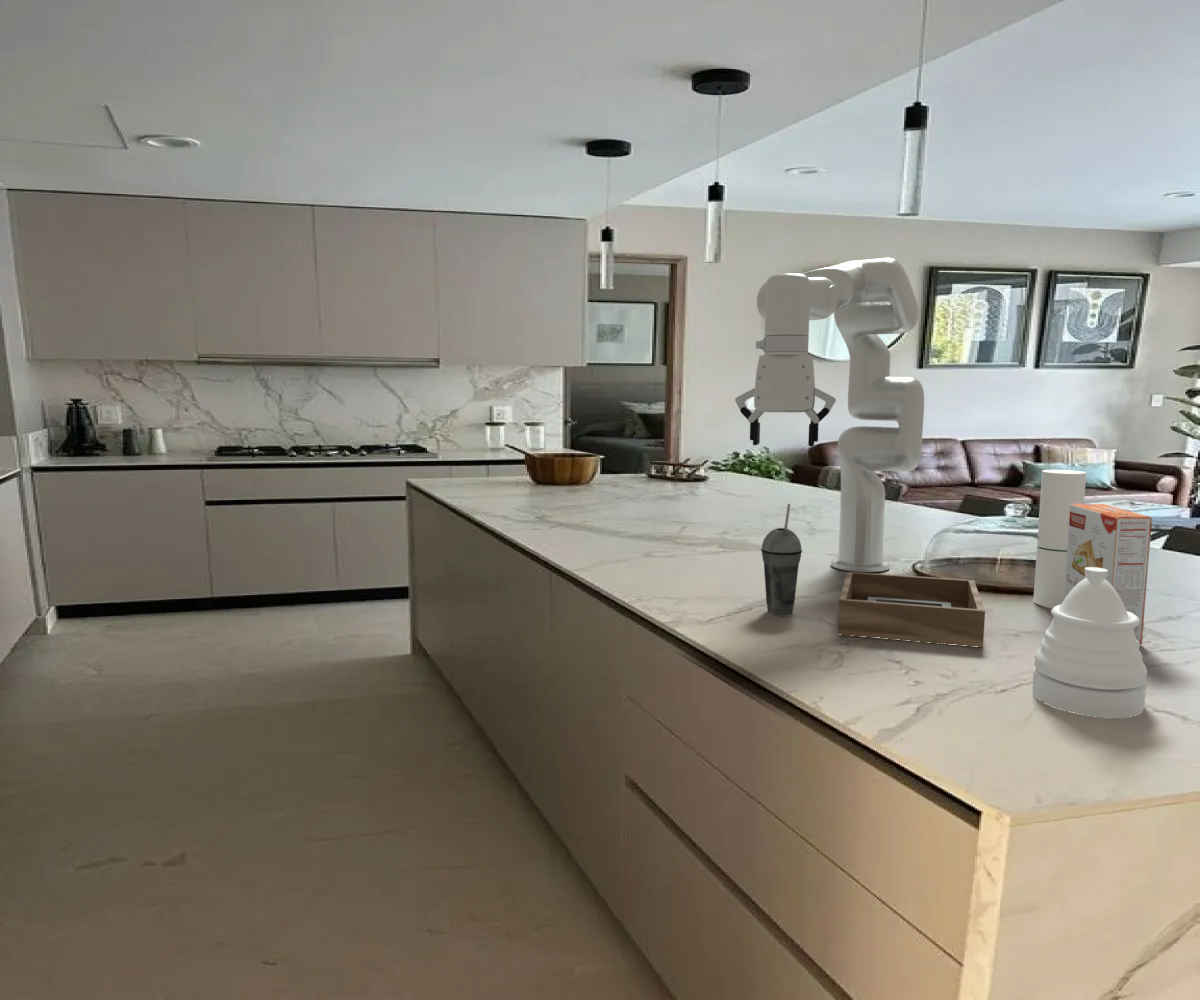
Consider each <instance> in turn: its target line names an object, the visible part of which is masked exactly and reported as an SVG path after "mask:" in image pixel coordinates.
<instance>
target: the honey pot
mask: <svg viewBox="0 0 1200 1000" xmlns="http://www.w3.org/2000/svg"><path fill="white" fill-rule="evenodd" d="M1107 573H1108V570H1107V569H1103V568H1097V567H1086V568H1085V576H1086V578H1085V579H1083V580H1082V581H1080V582H1079V583H1078V584H1077V585H1076V586H1075V587H1074V588H1073V589H1072V590H1071V591H1070V593H1069V594H1068V595H1067V597H1066V598H1065V599H1064V601H1063V602H1062V604H1061V605H1058V606H1055V607H1054V608H1051V610H1050V612H1051V616H1052V617H1053V619H1052V620H1051V623H1050V624H1049V626H1048V628H1047V629H1046V630H1045V631H1044V637H1043V639H1042V640H1041V641H1040V642H1041V643H1040V647H1039V648H1038V650H1036V652H1035V654H1034V662H1033V665H1034V667H1033V672H1032V673H1033V674H1032V675H1033V676H1032V688H1031V691H1032V690H1033V693H1032V695H1033V694H1034V695H1035V696H1036V697H1037V698H1038V699H1040V700H1041V701H1043V702H1045V703H1047V704H1049V705H1051V706H1054V707H1056V708H1060V709H1063V710H1066V711H1070V712H1075V713H1079V714H1084V715H1090V716H1096V717H1104V718H1103V719H1109V718H1120V719H1122V718H1121V717H1130V716H1135V715H1137V714H1139V713H1141V712H1142V711H1143V712H1144V710H1145V703H1146V690H1147V684H1146V682H1147V676H1148V670H1147V667H1146V665H1145V664H1144V661H1143V654H1142V653H1141V651H1140V647H1141V645H1140V644H1139V642H1138V640H1137V639H1136V637H1135V633H1134V630H1133V628H1135V627H1137V626H1138V625H1139V624H1140V620H1139V618H1138V616H1136V615H1134V614H1133V613H1131V612H1128V611H1126V609H1125V607H1124V605H1123V603H1122V601H1121V599H1120V597H1119V595H1118V594H1117V592H1116V590H1115V589H1114V588H1113V586H1112V585H1111V584H1110V583H1109V582H1108V581H1107V580H1105V578H1106V576H1107ZM1034 695H1033V696H1034ZM1041 701H1040V702H1041ZM1051 706H1050V707H1051ZM1143 709H1144V710H1143ZM1143 712H1142V713H1143ZM1096 717H1095V718H1096ZM1105 717H1106V718H1105ZM1107 717H1108V718H1107ZM1135 717H1136V716H1135ZM1130 718H1131V717H1130Z"/></svg>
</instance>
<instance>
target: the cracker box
mask: <svg viewBox="0 0 1200 1000" xmlns="http://www.w3.org/2000/svg"><path fill="white" fill-rule="evenodd" d="M1152 524H1153V518H1152V517H1151V516H1147V515H1144V514H1141V513H1137V512H1134V511H1129V510H1126V509H1123V508H1119V507H1116V506H1111V505H1109V504H1104V503H1085V502H1084V503H1081V504H1071V505H1070V518H1069V534H1068V550H1067V565H1066V581H1065V596H1064V599H1065V598H1066V597H1067V595H1068V594H1069V593H1070V591H1071V590H1072V589H1073V588H1074V587H1075V586H1076V585H1077V584H1078V583H1079V582H1080V581H1082V580H1083V579H1085V578H1086V576H1085V568H1086V567H1097V568H1103V569H1107V570H1108V573H1107V576H1106V578H1105V580H1107V581H1108V582H1109V583H1110V584H1111V585H1112V586H1113V588H1114V589H1115V590H1116V592H1117V594H1118V595H1119V597H1120V599H1121V601H1122V603H1123V605H1124V607H1125V609H1126V611H1128V612H1131V613H1133V614H1134V615H1136V616H1138V618H1139V620H1140V624H1139V625H1138V626H1137V627H1135V628H1133V630H1134V633H1135V637H1136V639H1137V640H1138V642H1139V644H1140V646H1141V645H1142V644H1143V634H1144V633H1143V632H1144V620H1145V612H1146V611H1145V610H1146V609H1145V608H1146V599H1147V597H1146V596H1147V585H1148V570H1149V563H1150V562H1149V560H1150V548H1151V535H1152Z"/></svg>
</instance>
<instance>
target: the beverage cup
mask: <svg viewBox="0 0 1200 1000" xmlns="http://www.w3.org/2000/svg"><path fill="white" fill-rule="evenodd" d="M790 510H791V504H790V503H787V507H786V513H785V521H784V528H783V527H782V528H781V527H779V528H775V529H773V530H771V531H769V532H768V533H767V534H766V535H765V537H764V539H763V542H762V545H761V549H760V551H761V556H762V561H763V569H764V586H765V587H764V588H765V600H766V608H767V611H766V612H767V613H768V614H769V615H771V614H772V615H771V616H775V615H777V616H776V617H788V616H787V615H789V616H791V614H792V613H793V610H794V606H795V599H796V591H797V582H798V576H799V575H798V573H799V567H800V566H799V565H800V562H801V558H802V553H803V550H802V544H801V541H800V538H799V537H798V535H797V534H796V533H795V532H794V531H792V530H790V529H789V528H788V526H789V518H790ZM793 614H794V613H793ZM793 614H792V615H793Z"/></svg>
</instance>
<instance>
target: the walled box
mask: <svg viewBox="0 0 1200 1000" xmlns="http://www.w3.org/2000/svg"><path fill="white" fill-rule="evenodd" d="M842 586H843V587H842V590H841V594H840V596H839V600H838V603H839V605H838V627H837V628H838V629H837V630H838V634H841V635H854V636H866V637H880V638H888V639H900V640H910V641H920V642H931V643H943V644H944V643H945V644H957V645H967V646H978V647H983V648H984V636H985V635H984V634H985V619H986V610H985V607H984V605H983V601H982V599H981V596H980V592H979V591H978V587H977V585H976V581H975V580H974V579H965V578H964V579H962V578H949V577H948V578H946V577H931V576H915V575H903V574H901V575H900V574H886V573H875V572H854V571H847V572H846V576H845V579H844V582H843V585H842Z"/></svg>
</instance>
